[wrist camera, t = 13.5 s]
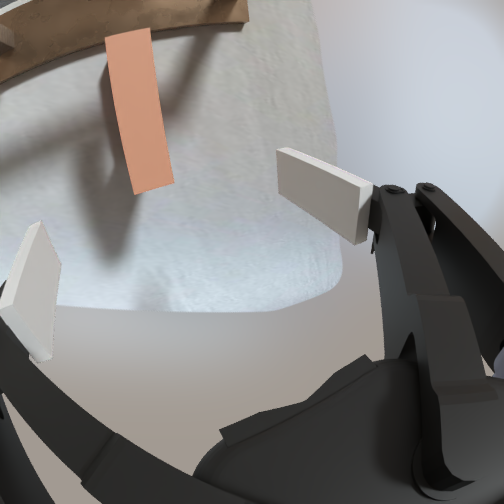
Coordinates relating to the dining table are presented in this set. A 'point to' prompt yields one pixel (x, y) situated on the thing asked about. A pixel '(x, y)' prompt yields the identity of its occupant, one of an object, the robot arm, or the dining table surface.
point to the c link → (138, 109)
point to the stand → (96, 25)
